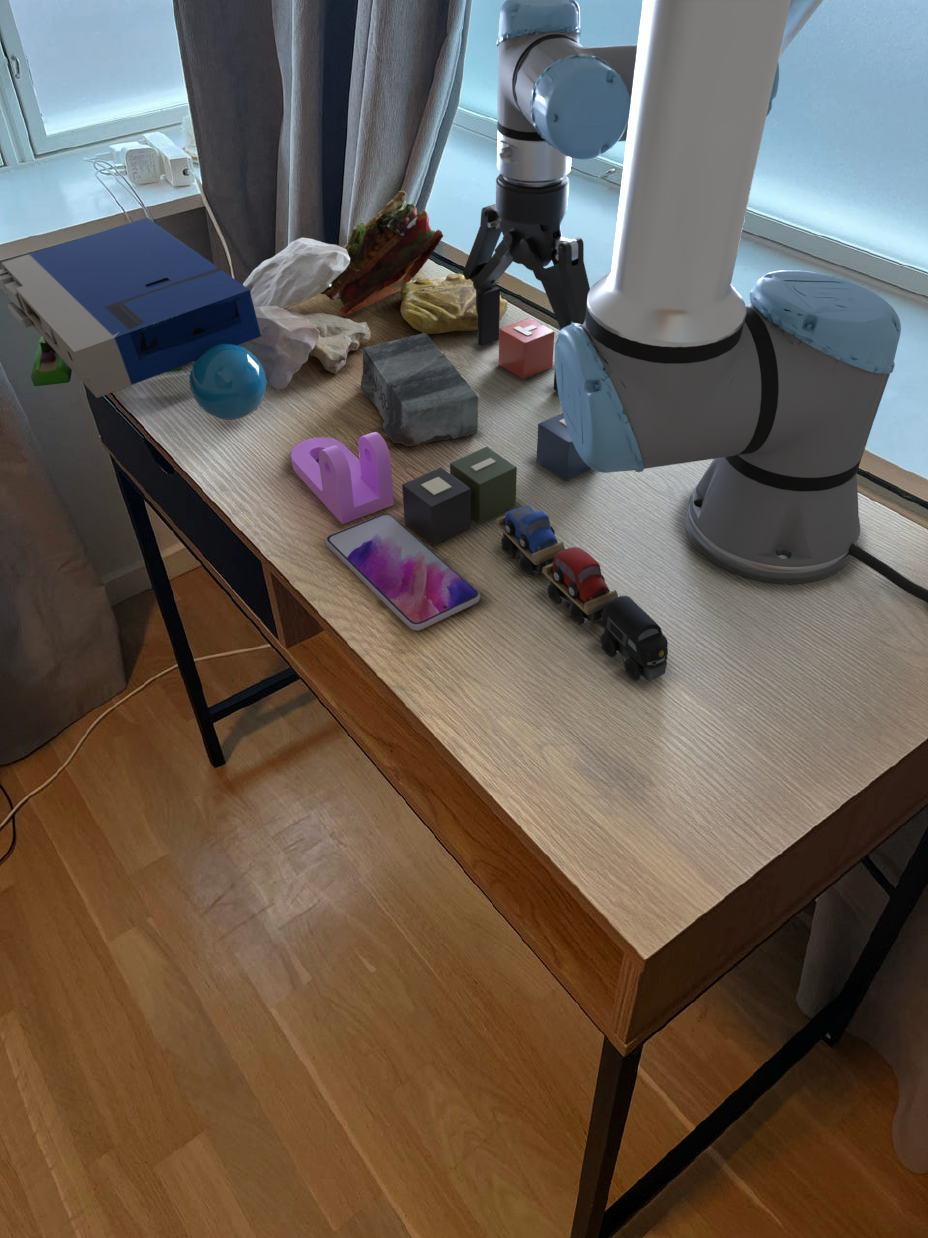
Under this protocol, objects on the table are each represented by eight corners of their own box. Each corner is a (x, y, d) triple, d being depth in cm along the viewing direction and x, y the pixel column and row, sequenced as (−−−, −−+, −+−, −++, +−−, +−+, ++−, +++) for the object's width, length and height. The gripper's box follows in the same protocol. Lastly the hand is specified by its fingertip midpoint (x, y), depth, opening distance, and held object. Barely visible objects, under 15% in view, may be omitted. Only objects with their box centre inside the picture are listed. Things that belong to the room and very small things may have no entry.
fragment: (275, 267, 130) (254, 234, 127) (391, 240, 118) (371, 203, 115) (219, 338, 123) (195, 305, 119) (336, 317, 111) (313, 280, 108)
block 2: (515, 506, 93) (517, 466, 90) (479, 523, 91) (479, 483, 88) (486, 484, 96) (486, 445, 92) (450, 501, 94) (449, 461, 90)
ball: (222, 447, 104) (283, 411, 102) (172, 395, 98) (235, 356, 96) (222, 404, 109) (279, 369, 107) (174, 352, 104) (234, 314, 102)
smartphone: (388, 510, 91) (484, 594, 82) (388, 517, 92) (483, 602, 83) (321, 537, 88) (413, 628, 79) (322, 544, 88) (413, 635, 80)
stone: (395, 348, 113) (318, 356, 108) (390, 375, 116) (315, 384, 110) (344, 296, 120) (269, 301, 115) (340, 322, 123) (267, 328, 118)
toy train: (637, 694, 75) (645, 647, 71) (485, 541, 89) (486, 496, 85) (675, 675, 76) (685, 629, 73) (520, 528, 90) (521, 483, 87)
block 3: (598, 465, 98) (602, 426, 95) (565, 481, 96) (568, 442, 93) (568, 446, 100) (571, 407, 97) (535, 461, 98) (537, 422, 95)
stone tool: (336, 341, 111) (243, 296, 117) (321, 316, 107) (225, 270, 112) (291, 402, 110) (200, 354, 115) (274, 379, 105) (179, 330, 111)
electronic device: (261, 336, 104) (156, 256, 123) (249, 289, 100) (143, 214, 119) (85, 402, 96) (3, 306, 115) (66, 354, 93) (-16, 263, 112)
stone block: (399, 455, 100) (396, 411, 96) (354, 390, 109) (349, 348, 106) (478, 435, 102) (478, 391, 98) (427, 373, 112) (425, 331, 108)
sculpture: (407, 316, 114) (387, 268, 125) (409, 344, 117) (388, 294, 128) (515, 305, 116) (485, 259, 127) (514, 332, 119) (485, 285, 130)
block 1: (471, 528, 90) (471, 487, 87) (432, 546, 88) (431, 506, 85) (442, 505, 93) (441, 465, 90) (404, 523, 91) (401, 483, 88)
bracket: (393, 504, 93) (389, 443, 88) (342, 524, 91) (335, 462, 86) (332, 443, 101) (325, 383, 96) (283, 459, 99) (273, 399, 94)
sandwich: (465, 232, 123) (428, 178, 122) (419, 245, 113) (378, 186, 112) (383, 309, 133) (349, 259, 132) (335, 327, 123) (297, 274, 122)
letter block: (552, 367, 113) (554, 330, 110) (523, 379, 111) (524, 342, 108) (527, 352, 115) (528, 316, 112) (498, 364, 113) (499, 327, 110)
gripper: (430, 150, 104) (435, 334, 118) (591, 219, 90) (574, 418, 104) (484, 136, 107) (483, 316, 122) (647, 200, 93) (623, 396, 108)
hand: (525, 363), depth 113 cm, fingers open, 13 cm apart
